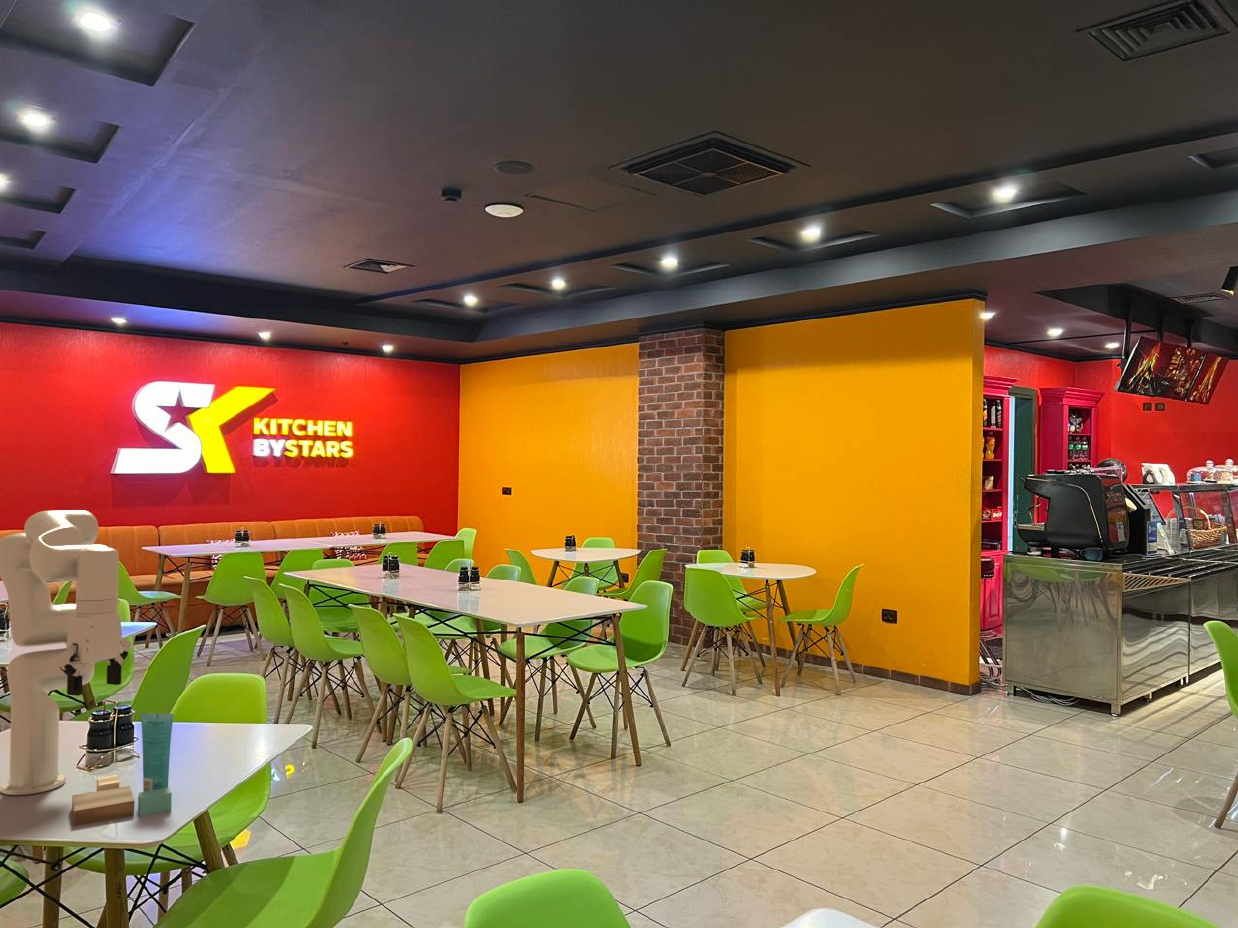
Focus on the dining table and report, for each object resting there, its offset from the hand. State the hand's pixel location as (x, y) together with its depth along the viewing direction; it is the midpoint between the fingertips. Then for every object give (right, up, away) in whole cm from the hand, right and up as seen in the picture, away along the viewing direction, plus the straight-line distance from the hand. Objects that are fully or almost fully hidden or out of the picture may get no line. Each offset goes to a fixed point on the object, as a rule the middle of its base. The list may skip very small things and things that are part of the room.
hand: (94, 689), depth 180 cm
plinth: (-3, -29, +8) cm, 30 cm away
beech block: (-7, -29, +17) cm, 35 cm away
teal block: (+8, -29, +9) cm, 31 cm away
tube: (+4, -29, +16) cm, 34 cm away
